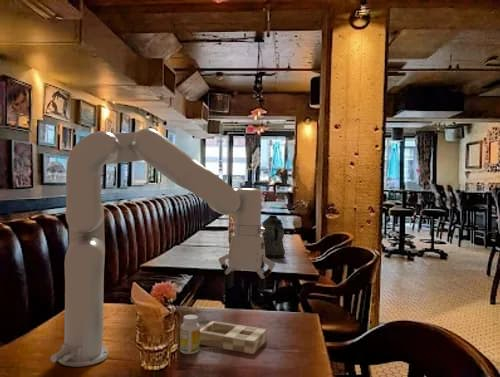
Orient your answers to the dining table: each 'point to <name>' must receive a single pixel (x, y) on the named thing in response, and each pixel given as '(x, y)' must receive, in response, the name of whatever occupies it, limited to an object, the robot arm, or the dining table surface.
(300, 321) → the dining table surface
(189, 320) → the supplement bottle
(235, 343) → the socket block
